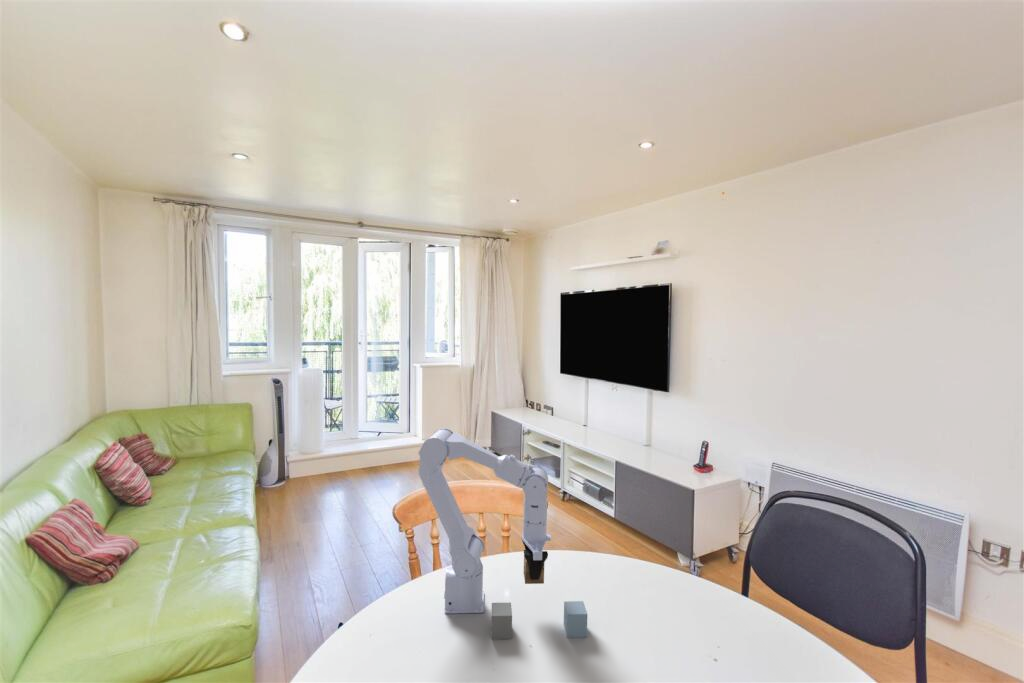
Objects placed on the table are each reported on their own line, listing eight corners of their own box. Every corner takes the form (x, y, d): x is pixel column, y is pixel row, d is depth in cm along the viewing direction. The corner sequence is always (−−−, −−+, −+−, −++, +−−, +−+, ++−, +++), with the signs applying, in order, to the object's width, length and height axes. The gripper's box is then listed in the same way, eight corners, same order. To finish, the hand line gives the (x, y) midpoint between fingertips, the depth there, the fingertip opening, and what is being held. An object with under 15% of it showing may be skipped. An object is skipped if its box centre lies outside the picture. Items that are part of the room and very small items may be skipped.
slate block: (567, 637, 102) (567, 614, 101) (563, 623, 106) (564, 601, 106) (586, 637, 102) (587, 614, 101) (582, 623, 106) (583, 601, 106)
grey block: (491, 639, 101) (491, 616, 100) (491, 625, 105) (491, 602, 105) (511, 639, 101) (512, 615, 100) (510, 624, 105) (511, 602, 105)
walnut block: (525, 583, 108) (525, 561, 108) (523, 572, 112) (524, 551, 112) (543, 583, 108) (544, 561, 108) (541, 572, 113) (542, 551, 112)
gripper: (556, 533, 102) (554, 590, 103) (547, 505, 117) (545, 555, 118) (525, 533, 102) (523, 591, 103) (520, 505, 116) (518, 556, 117)
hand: (533, 572), depth 110 cm, fingers closed on walnut block, 4 cm apart
